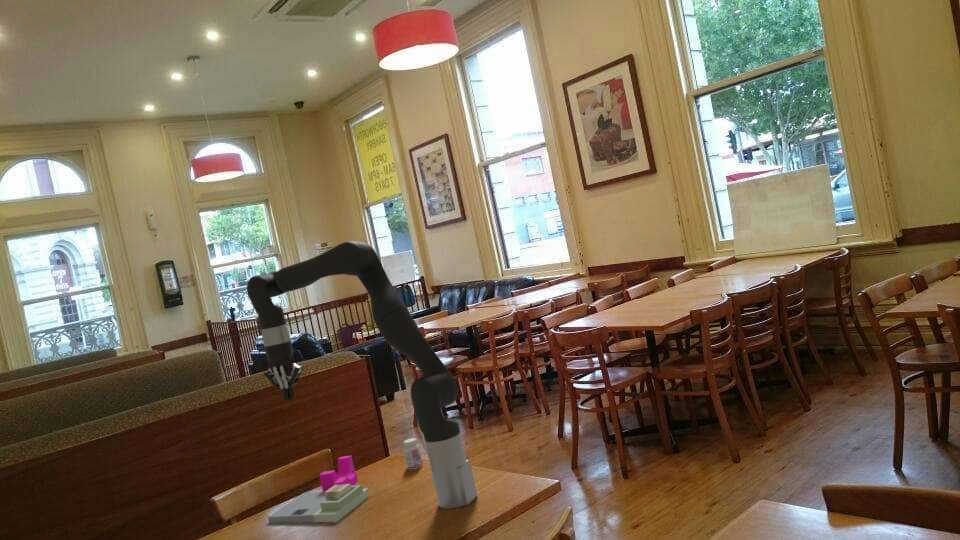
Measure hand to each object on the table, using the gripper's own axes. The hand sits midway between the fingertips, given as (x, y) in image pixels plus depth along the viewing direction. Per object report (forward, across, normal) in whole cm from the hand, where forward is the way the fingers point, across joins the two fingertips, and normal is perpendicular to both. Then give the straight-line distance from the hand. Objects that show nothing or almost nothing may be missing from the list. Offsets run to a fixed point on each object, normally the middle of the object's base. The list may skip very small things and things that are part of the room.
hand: (289, 400), depth 195 cm
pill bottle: (+30, -24, -20) cm, 43 cm away
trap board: (+29, -10, +10) cm, 33 cm away
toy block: (+30, -7, -7) cm, 32 cm away
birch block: (+27, -17, +9) cm, 33 cm away
